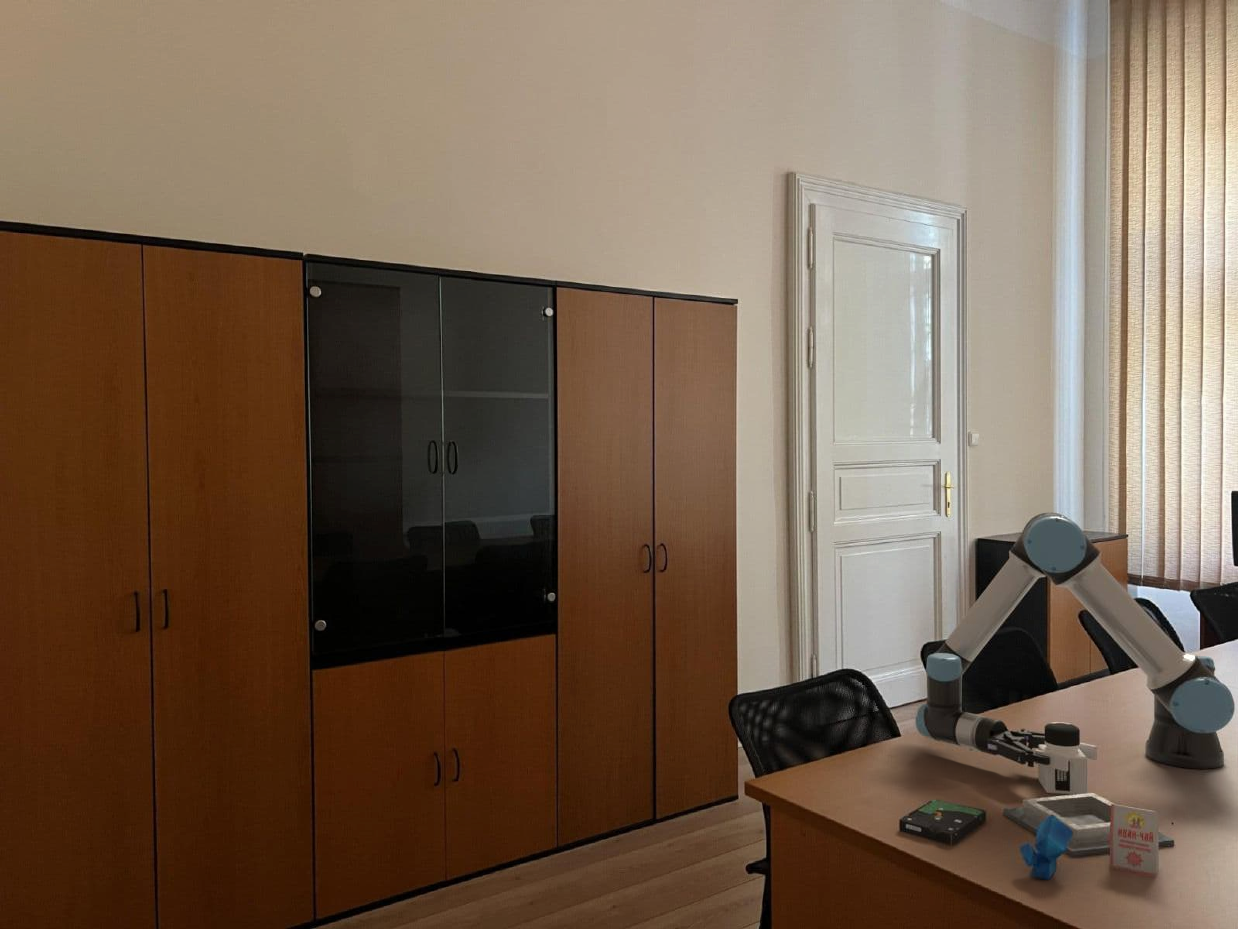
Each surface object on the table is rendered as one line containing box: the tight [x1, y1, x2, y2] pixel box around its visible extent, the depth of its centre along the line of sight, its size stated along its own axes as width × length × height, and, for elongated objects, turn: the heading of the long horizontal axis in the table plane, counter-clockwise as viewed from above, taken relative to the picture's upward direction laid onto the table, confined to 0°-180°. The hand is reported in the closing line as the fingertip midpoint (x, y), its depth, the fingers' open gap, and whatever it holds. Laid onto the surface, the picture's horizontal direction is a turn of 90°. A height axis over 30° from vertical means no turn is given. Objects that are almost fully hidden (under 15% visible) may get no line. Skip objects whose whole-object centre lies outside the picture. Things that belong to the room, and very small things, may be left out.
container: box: [1037, 721, 1088, 795], centre depth 200 cm, size 8×8×13 cm
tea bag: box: [1109, 803, 1160, 878], centre depth 162 cm, size 4×7×10 cm, turn 56°
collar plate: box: [1002, 792, 1175, 858], centre depth 179 cm, size 20×20×4 cm
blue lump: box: [1019, 815, 1073, 881], centre depth 161 cm, size 7×9×12 cm
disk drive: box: [898, 798, 987, 846], centre depth 181 cm, size 10×3×15 cm
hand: (1081, 758), depth 197 cm, fingers closed on container, 10 cm apart
